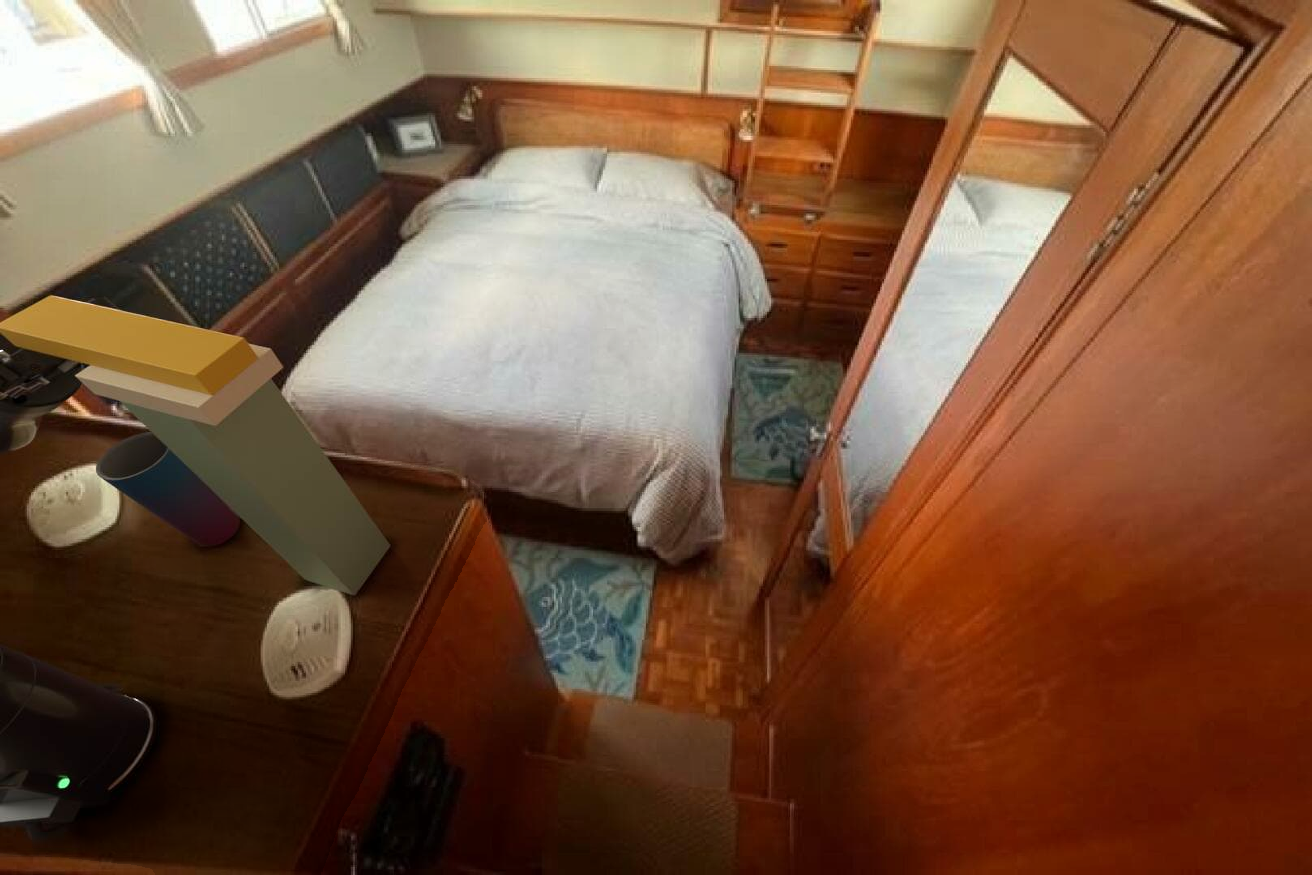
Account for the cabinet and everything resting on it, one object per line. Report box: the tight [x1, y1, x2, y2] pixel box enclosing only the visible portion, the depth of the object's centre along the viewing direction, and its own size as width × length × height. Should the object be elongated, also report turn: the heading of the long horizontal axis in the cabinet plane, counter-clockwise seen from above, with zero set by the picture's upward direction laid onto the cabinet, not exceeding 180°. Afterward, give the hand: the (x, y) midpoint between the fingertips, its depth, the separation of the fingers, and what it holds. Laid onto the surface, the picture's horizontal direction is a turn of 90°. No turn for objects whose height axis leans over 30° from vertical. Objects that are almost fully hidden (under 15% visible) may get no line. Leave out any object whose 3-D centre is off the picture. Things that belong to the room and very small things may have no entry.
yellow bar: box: [0, 295, 258, 395], centre depth 42 cm, size 20×4×2 cm, turn 73°
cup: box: [95, 431, 241, 548], centre depth 64 cm, size 7×7×15 cm
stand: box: [75, 343, 391, 597], centre depth 54 cm, size 12×7×32 cm, turn 73°
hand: (55, 337), depth 45 cm, fingers open, 8 cm apart
